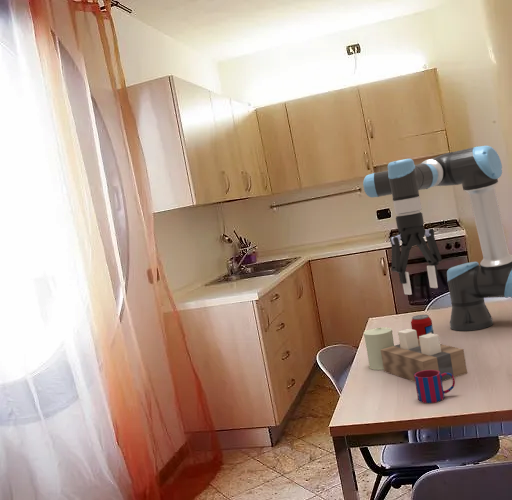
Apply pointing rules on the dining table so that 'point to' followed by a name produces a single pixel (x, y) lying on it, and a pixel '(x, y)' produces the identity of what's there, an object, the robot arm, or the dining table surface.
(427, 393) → the mug
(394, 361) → the socket block
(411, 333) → the peg
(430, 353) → the peg
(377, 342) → the can
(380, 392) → the dining table surface
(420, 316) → the beverage can
